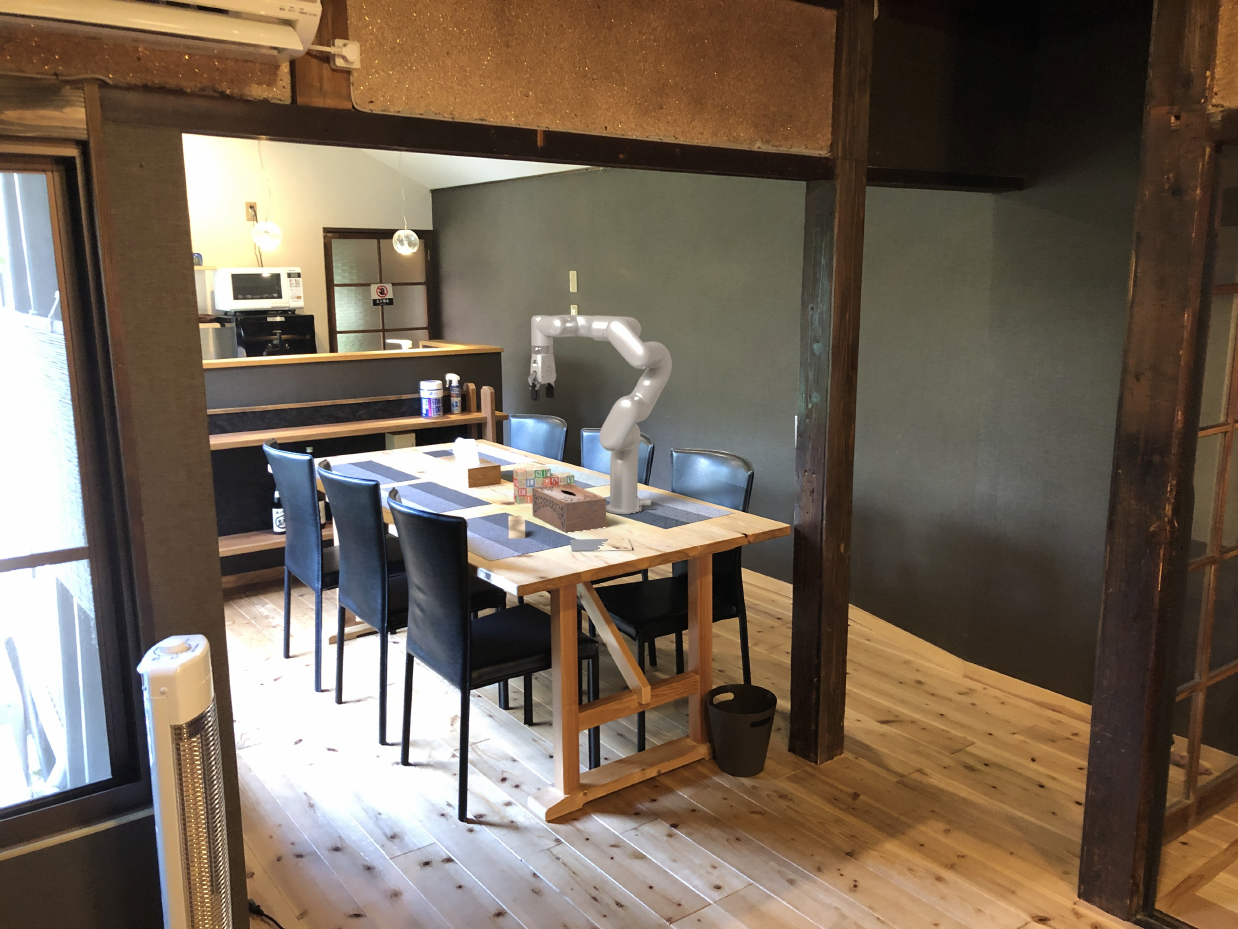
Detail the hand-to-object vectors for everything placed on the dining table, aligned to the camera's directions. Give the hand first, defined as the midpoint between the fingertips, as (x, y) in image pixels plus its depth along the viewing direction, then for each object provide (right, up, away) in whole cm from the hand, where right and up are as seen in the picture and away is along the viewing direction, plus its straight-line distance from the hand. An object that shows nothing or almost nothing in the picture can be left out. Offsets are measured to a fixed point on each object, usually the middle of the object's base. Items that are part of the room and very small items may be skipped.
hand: (542, 399), depth 333 cm
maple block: (-5, -46, -41) cm, 62 cm away
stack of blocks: (0, -37, +8) cm, 37 cm away
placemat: (+22, -48, -51) cm, 73 cm away
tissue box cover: (+10, -43, -23) cm, 49 cm away
